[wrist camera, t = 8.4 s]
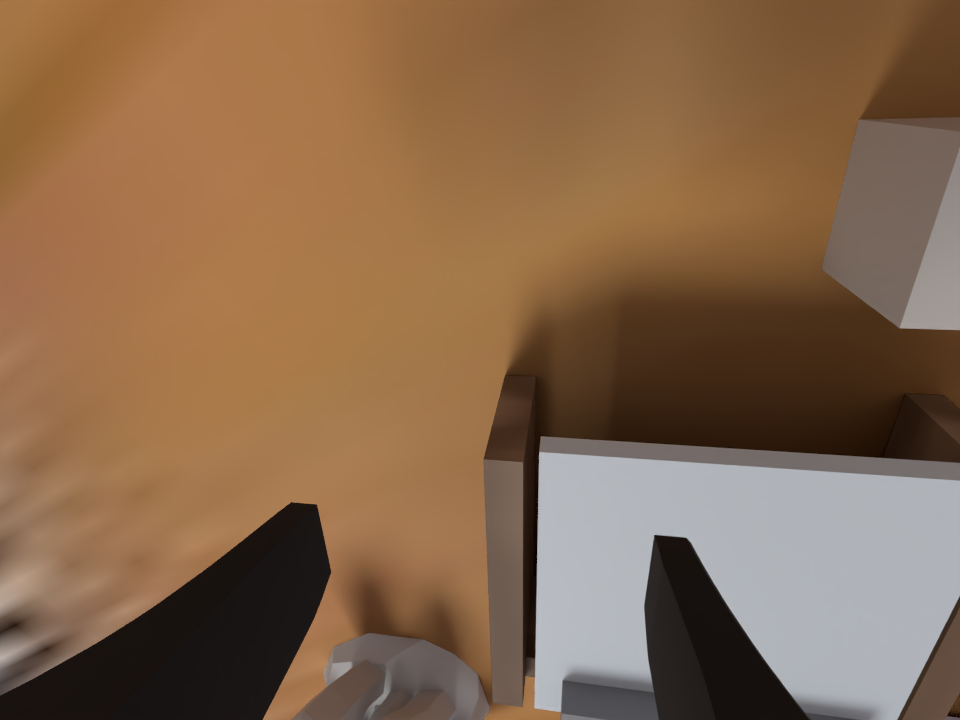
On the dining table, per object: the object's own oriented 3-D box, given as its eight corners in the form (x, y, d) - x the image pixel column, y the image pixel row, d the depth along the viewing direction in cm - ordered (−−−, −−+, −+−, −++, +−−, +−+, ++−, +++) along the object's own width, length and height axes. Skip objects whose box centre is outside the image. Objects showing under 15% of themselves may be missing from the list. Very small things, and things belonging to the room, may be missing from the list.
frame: (944, 395, 19) (1069, 501, 14) (851, 628, 24) (919, 763, 19) (505, 375, 21) (483, 459, 17) (508, 591, 27) (492, 702, 22)
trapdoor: (994, 465, 14) (1052, 517, 13) (867, 733, 20) (895, 796, 18) (540, 436, 16) (536, 478, 15) (536, 687, 22) (532, 741, 20)
